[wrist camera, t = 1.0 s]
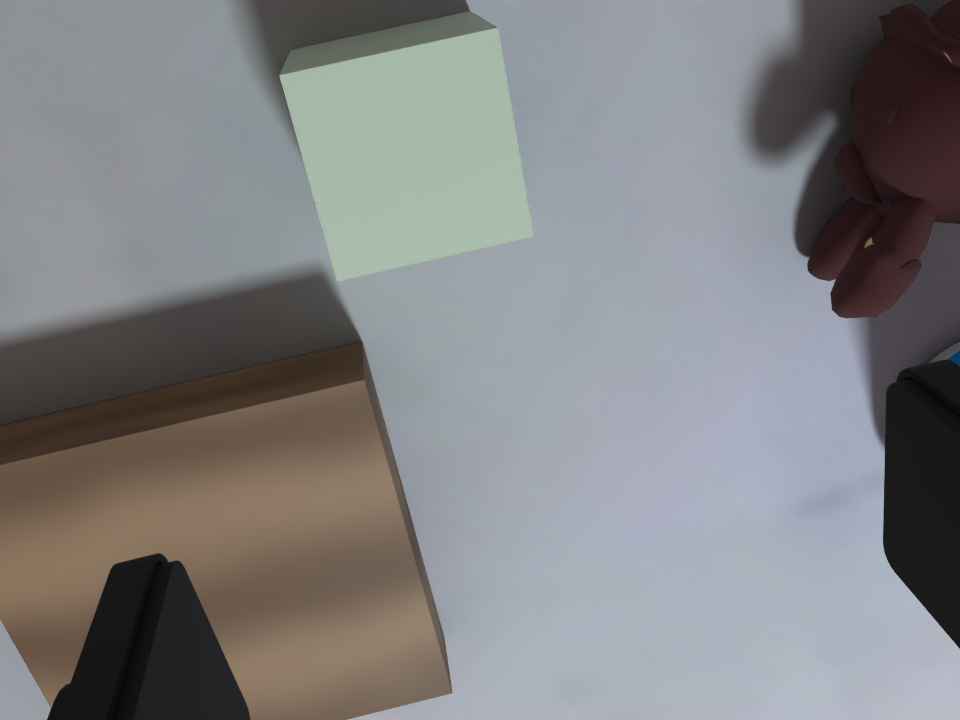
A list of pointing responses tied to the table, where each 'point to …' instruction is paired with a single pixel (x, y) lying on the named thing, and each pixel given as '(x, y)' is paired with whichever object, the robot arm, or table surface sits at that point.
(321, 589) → the walnut base
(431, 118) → the sage cube
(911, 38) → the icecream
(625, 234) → the table surface
